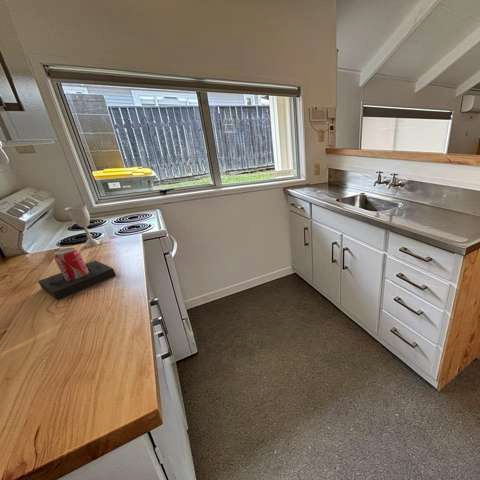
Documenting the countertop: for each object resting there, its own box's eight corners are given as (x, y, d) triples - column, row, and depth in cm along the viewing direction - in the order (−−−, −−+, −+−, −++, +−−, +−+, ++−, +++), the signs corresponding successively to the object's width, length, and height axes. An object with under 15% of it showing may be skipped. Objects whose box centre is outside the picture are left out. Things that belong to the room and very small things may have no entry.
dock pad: (57, 300, 79) (53, 292, 78) (42, 288, 85) (37, 281, 84) (116, 275, 91) (113, 268, 90) (98, 267, 98) (95, 260, 97)
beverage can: (63, 286, 86) (46, 254, 81) (83, 276, 92) (68, 246, 87) (77, 288, 85) (61, 255, 80) (96, 278, 90) (82, 247, 85)
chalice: (82, 249, 115) (64, 210, 108) (82, 244, 120) (65, 207, 112) (102, 244, 119) (86, 206, 112) (102, 240, 124) (87, 203, 117)
